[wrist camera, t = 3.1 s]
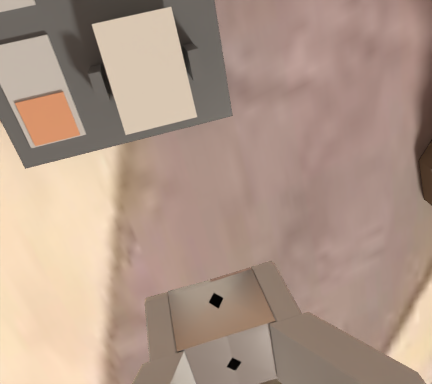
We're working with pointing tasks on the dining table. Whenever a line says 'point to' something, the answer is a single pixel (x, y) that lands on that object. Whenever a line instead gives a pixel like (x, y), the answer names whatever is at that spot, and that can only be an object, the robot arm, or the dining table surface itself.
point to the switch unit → (91, 74)
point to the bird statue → (426, 173)
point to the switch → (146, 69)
